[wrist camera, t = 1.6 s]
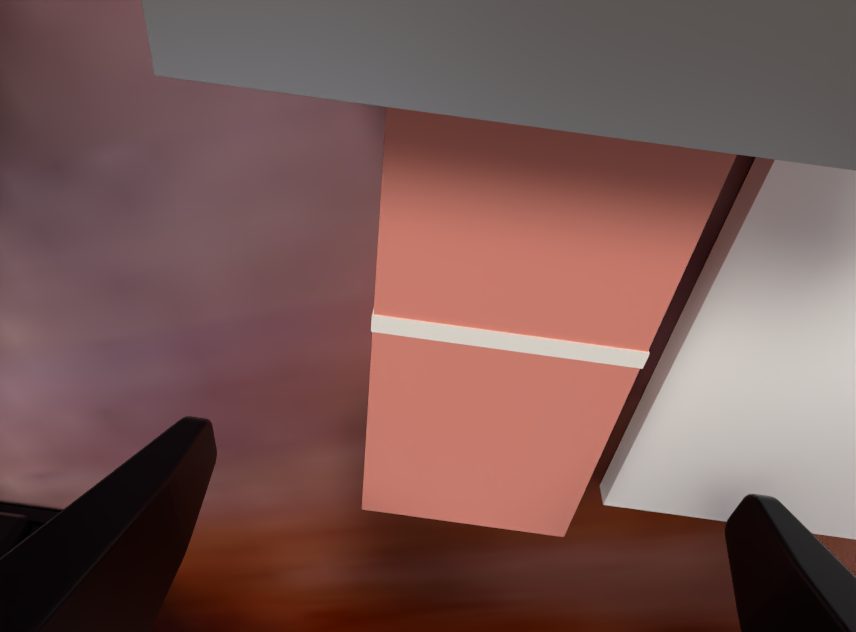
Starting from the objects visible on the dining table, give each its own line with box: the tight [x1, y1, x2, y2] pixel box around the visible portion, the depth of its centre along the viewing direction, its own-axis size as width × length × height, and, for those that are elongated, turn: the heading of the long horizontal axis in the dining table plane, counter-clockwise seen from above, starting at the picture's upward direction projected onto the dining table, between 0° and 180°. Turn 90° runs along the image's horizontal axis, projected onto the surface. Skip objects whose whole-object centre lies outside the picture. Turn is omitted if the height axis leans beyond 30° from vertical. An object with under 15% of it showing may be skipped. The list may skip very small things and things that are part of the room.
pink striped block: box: [362, 107, 737, 537], centre depth 8 cm, size 14×4×4 cm, turn 174°
